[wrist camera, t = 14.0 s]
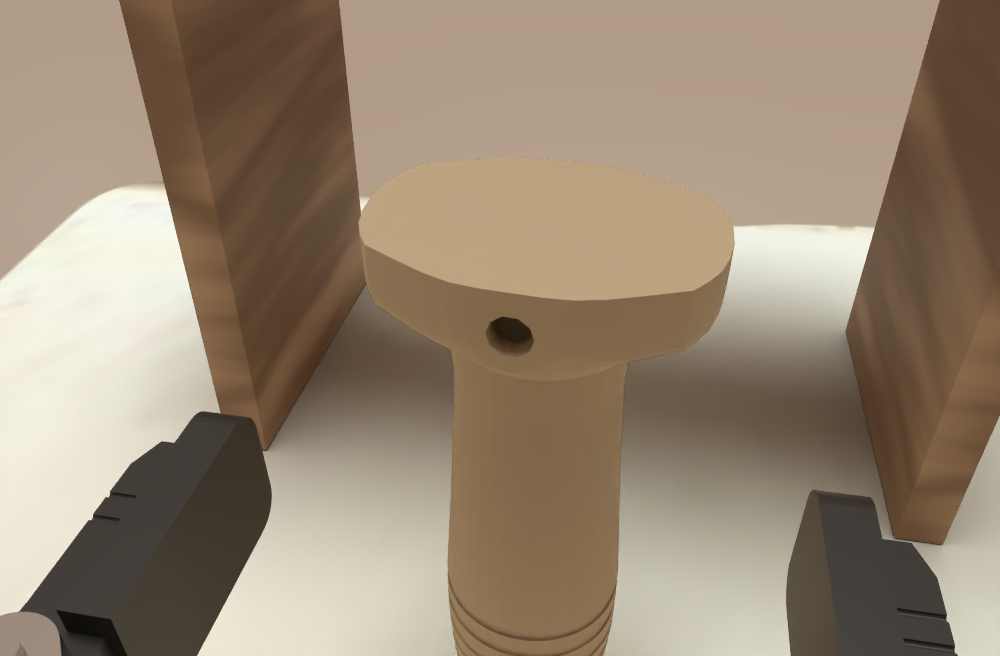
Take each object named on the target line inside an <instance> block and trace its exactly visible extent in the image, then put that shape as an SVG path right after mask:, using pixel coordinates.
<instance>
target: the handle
mask: <svg viewBox="0 0 1000 656" xmlns="http://www.w3.org/2000/svg"><path fill="white" fill-rule="evenodd" d="M359 233H360V242H361V251H362V259H363V267H364V274H365V280H366V284H367V288H368V291H369V293H370V296H371V298H372V300H373V303H374V304H376V305H377V306H379V307H380V308H381V309H383V310H384V311H386V312H387V313H388V314H390V315H391V316H393V317H394V318H396V319H397V320H399V321H400V322H402V323H404V324H405V325H407V326H408V327H410V328H411V329H413V330H415V331H416V332H418V333H420V334H422V335H423V336H425V337H427V338H428V339H430V340H432V341H434V342H436V343H438V344H440V345H441V346H443V347H445V348H447V349H449V350H451V354H452V361H453V368H454V404H453V456H452V482H451V503H450V524H449V545H448V586H449V603H450V613H451V621H452V627H453V634H454V640H455V644H456V650H457V654H458V656H603V655H604V651H605V647H606V643H607V640H608V635H609V631H610V627H611V623H612V616H613V609H614V600H615V593H616V583H617V573H618V541H619V497H620V462H621V443H622V423H623V404H624V385H625V377H626V373H627V368H628V364H629V362H633V361H638V360H643V359H647V358H652V357H656V356H661V355H665V354H669V353H673V352H678V351H682V350H683V349H685V348H686V347H688V346H690V345H691V344H693V343H695V342H696V341H697V340H698V339H700V338H701V337H702V336H703V335H704V334H705V333H707V332H708V331H709V329H710V327H711V326H712V324H713V322H714V321H715V319H716V317H717V315H718V314H719V311H720V308H721V305H722V301H723V297H724V293H725V290H726V285H727V280H728V275H729V271H730V265H731V260H732V254H733V249H734V244H735V243H734V230H733V226H732V224H731V222H730V219H729V217H728V215H727V214H726V213H725V212H724V210H723V209H722V208H721V207H720V206H719V205H718V204H717V203H716V202H715V201H714V200H712V199H711V198H710V197H709V196H707V195H704V194H701V193H698V192H695V191H692V190H689V189H686V188H684V187H681V186H678V185H675V184H672V183H668V182H666V181H662V180H660V179H656V178H653V177H650V176H647V175H644V174H640V173H636V172H633V171H629V170H625V169H621V168H614V167H607V166H602V165H595V164H585V163H577V162H568V161H558V160H550V159H538V158H522V157H521V158H518V157H516V158H489V159H475V160H461V161H450V162H437V163H428V164H425V165H422V166H419V167H417V168H413V169H411V170H409V171H407V172H404V173H402V174H400V175H398V176H396V177H395V178H393V179H392V180H390V181H389V182H387V183H386V184H384V185H383V186H382V187H381V188H380V189H379V190H378V191H377V192H376V193H375V194H374V195H373V196H372V197H371V198H370V199H369V201H368V202H367V204H366V205H365V207H364V208H363V210H362V213H361V216H360V219H359Z"/></svg>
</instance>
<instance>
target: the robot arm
mask: <svg viewBox="0 0 1000 656" xmlns="http://www.w3.org/2000/svg"><path fill="white" fill-rule="evenodd" d="M271 498H272V493H271V485H270V481H269V477H268V473H267V469H266V464H265V460H264V456H263V452H262V448H261V444H260V440H259V435H258V431H257V427H256V424H255V422H254V421H253V419H251V418H250V417H243V416H235V415H227V414H219V413H211V412H199V413H198V414H196V415H195V416H194V417H193V418H192V419H191V421H190V422H189V424H188V425H187V426H186V428H185V429H184V431H183V432H182V433H181V435H180V436H179V438H178V439H177V440H176V442H175V443H170V442H163V441H162V442H160V443H159V444H157V445H156V446H155V447H153V448H152V449H151V450H149V451H148V452H147V453H145V454H144V455H142V456H141V457H140V458H138V459H137V460H136V461H134V462H133V463H131V464H130V466H129V467H128V468H127V470H126V471H125V472H124V474H123V475H122V476H121V478H120V479H119V480H118V482H117V483H116V484H115V486H114V487H113V488H112V490H111V491H110V496H109V498H108V497H106V498H105V499H104V500H103V502H102V503H101V504H100V506H99V507H98V508H97V510H96V511H95V512H94V514H93V519H92V520H88V522H87V523H86V524H85V526H84V527H83V528H82V530H81V531H80V532H79V534H78V535H77V536H76V538H75V539H74V540H73V542H72V543H71V544H70V546H69V547H68V548H67V550H66V551H65V552H64V554H63V555H62V556H61V558H60V559H59V560H58V562H57V563H56V564H55V566H54V567H53V568H52V570H51V571H50V572H49V574H48V575H47V576H46V578H45V579H44V580H43V582H42V583H41V584H40V586H39V587H38V588H37V590H36V591H35V592H34V594H33V595H32V596H31V598H30V599H29V600H28V602H27V603H26V604H25V605H24V606H23V608H22V609H21V610H20V611H19V612H15V613H9V614H5V615H1V616H0V656H197V655H198V653H199V651H200V649H201V647H202V645H203V643H204V641H205V640H206V638H207V636H208V634H209V632H210V630H211V628H212V626H213V624H214V623H215V621H216V619H217V617H218V615H219V613H220V611H221V609H222V608H223V606H224V604H225V602H226V600H227V598H228V596H229V594H230V592H231V591H232V589H233V587H234V585H235V583H236V581H237V579H238V577H239V575H240V574H241V572H242V570H243V568H244V566H245V564H246V562H247V560H248V559H249V557H250V555H251V553H252V551H253V549H254V547H255V545H256V543H257V542H258V540H259V538H260V536H261V534H262V532H263V530H264V528H265V526H266V523H267V520H268V517H269V513H270V508H271ZM786 606H787V618H788V630H789V641H790V652H791V656H958V655H957V654H955V651H954V648H955V644H954V640H953V636H952V632H951V629H950V625H949V622H947V621H946V617H947V613H946V610H945V606H944V602H943V598H942V594H941V591H940V587H939V583H938V579H937V577H936V576H935V574H934V573H933V572H932V570H931V569H930V567H929V566H928V565H927V563H926V562H925V561H924V559H923V558H922V557H921V555H920V554H919V552H918V551H917V550H916V548H915V547H914V546H913V544H912V543H908V542H900V541H893V540H885V539H882V536H881V531H880V526H879V522H878V517H877V512H876V508H875V504H874V502H873V500H872V499H871V498H870V497H864V496H856V495H848V494H840V493H832V492H824V491H816V490H812V491H811V493H810V495H809V497H808V500H807V503H806V507H805V510H804V514H803V518H802V521H801V525H800V528H799V532H798V535H797V539H796V542H795V546H794V549H793V553H792V556H791V560H790V564H789V569H788V576H787V589H786Z"/></svg>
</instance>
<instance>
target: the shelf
mask: <svg viewBox="0 0 1000 656" xmlns="http://www.w3.org/2000/svg"><path fill="white" fill-rule="evenodd" d="M119 1H120V5H121V9H122V13H123V17H124V21H125V26H126V29H127V34H128V38H129V42H130V45H131V50H132V54H133V58H134V62H135V66H136V70H137V74H138V78H139V83H140V86H141V91H142V95H143V99H144V103H145V107H146V111H147V115H148V119H149V123H150V127H151V131H152V135H153V139H154V144H155V147H156V152H157V156H158V160H159V163H160V168H161V172H162V176H163V180H164V184H165V188H166V192H167V196H168V201H169V205H170V209H171V213H172V217H173V221H174V225H175V229H176V233H177V237H178V241H179V245H180V249H181V253H182V257H183V262H184V266H185V270H186V274H187V278H188V282H189V286H190V290H191V294H192V298H193V302H194V306H195V310H196V314H197V319H198V323H199V327H200V331H201V335H202V339H203V343H204V347H205V351H206V355H207V359H208V363H209V367H210V371H211V375H212V380H213V384H214V388H215V392H216V396H217V400H218V404H219V408H220V412H221V414H227V415H235V416H243V417H250V418H251V419H253V421H254V422H255V424H256V427H257V431H258V435H259V440H260V444H261V448H262V450H266V451H267V449H268V447H269V446H270V444H271V442H272V441H273V439H274V437H275V436H276V434H277V432H278V431H279V429H280V427H281V426H282V424H283V422H284V420H285V419H286V417H287V415H288V414H289V412H290V410H291V409H292V407H293V405H294V404H295V402H296V400H297V399H298V397H299V395H300V394H301V392H302V390H303V389H304V387H305V385H306V383H307V382H308V380H309V378H310V377H311V375H312V373H313V372H314V370H315V368H316V367H317V365H318V363H319V362H320V360H321V358H322V357H323V355H324V353H325V352H326V350H327V348H328V346H329V345H330V343H331V341H332V340H333V338H334V336H335V335H336V333H337V331H338V330H339V328H340V326H341V325H342V323H343V321H344V320H345V318H346V316H347V315H348V313H349V311H350V309H351V308H352V306H353V304H354V303H355V301H356V299H357V298H358V296H359V294H360V293H361V291H362V289H363V288H364V286H365V284H366V280H365V274H364V267H363V259H362V251H361V242H360V233H359V219H360V216H361V210H360V200H359V191H358V181H357V171H356V162H355V153H354V142H353V133H352V123H351V113H350V104H349V94H348V85H347V76H346V65H345V56H344V47H343V37H342V27H341V17H340V7H339V0H119ZM846 334H847V338H848V343H849V347H850V351H851V355H852V360H853V364H854V368H855V373H856V377H857V381H858V385H859V390H860V394H861V398H862V403H863V407H864V411H865V415H866V420H867V424H868V428H869V433H870V437H871V441H872V445H873V450H874V454H875V458H876V463H877V467H878V471H879V475H880V480H881V484H882V488H883V493H884V497H885V501H886V505H887V510H888V514H889V518H890V523H891V527H892V531H893V535H894V538H898V539H905V540H912V541H919V542H927V543H934V544H941V545H942V544H943V542H944V540H945V538H946V535H947V533H948V531H949V528H950V526H951V524H952V522H953V519H954V517H955V515H956V513H957V510H958V508H959V506H960V504H961V501H962V499H963V497H964V495H965V492H966V490H967V488H968V486H969V483H970V481H971V479H972V477H973V474H974V472H975V470H976V468H977V465H978V463H979V461H980V458H981V456H982V454H983V452H984V449H985V447H986V445H987V443H988V440H989V438H990V436H991V434H992V431H993V429H994V427H995V425H996V422H997V420H998V418H999V416H1000V0H940V2H939V5H938V9H937V12H936V16H935V19H934V23H933V26H932V30H931V33H930V37H929V40H928V44H927V48H926V51H925V54H924V58H923V61H922V65H921V69H920V72H919V75H918V79H917V82H916V86H915V89H914V93H913V97H912V100H911V103H910V107H909V111H908V114H907V118H906V121H905V124H904V128H903V131H902V135H901V139H900V142H899V146H898V149H897V153H896V157H895V160H894V163H893V167H892V170H891V174H890V177H889V181H888V184H887V188H886V191H885V195H884V198H883V202H882V205H881V209H880V212H879V216H878V219H877V223H876V226H875V230H874V233H873V237H872V240H871V244H870V247H869V251H868V254H867V258H866V261H865V265H864V268H863V272H862V275H861V279H860V282H859V286H858V289H857V293H856V296H855V300H854V303H853V307H852V310H851V314H850V317H849V321H848V324H847V328H846Z"/></svg>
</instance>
